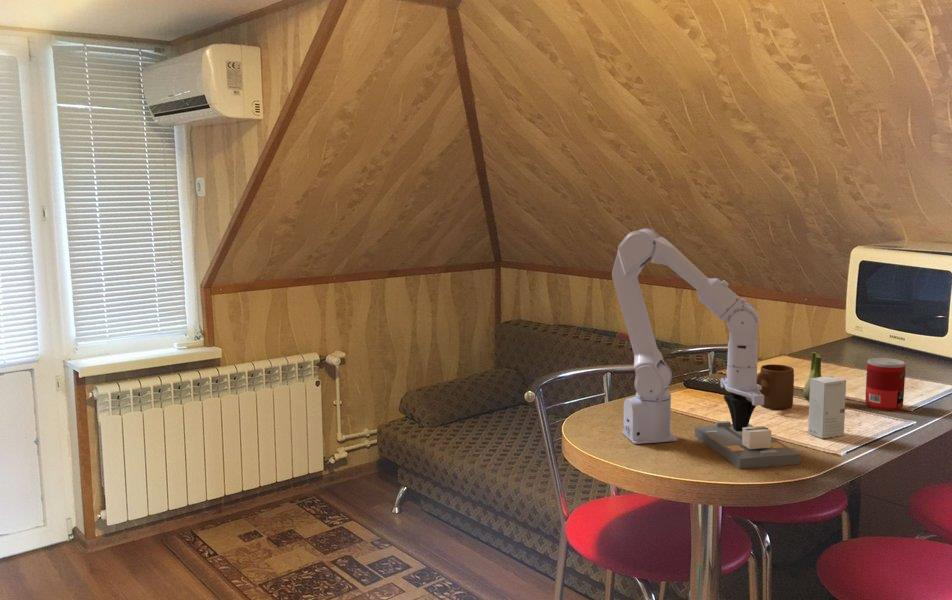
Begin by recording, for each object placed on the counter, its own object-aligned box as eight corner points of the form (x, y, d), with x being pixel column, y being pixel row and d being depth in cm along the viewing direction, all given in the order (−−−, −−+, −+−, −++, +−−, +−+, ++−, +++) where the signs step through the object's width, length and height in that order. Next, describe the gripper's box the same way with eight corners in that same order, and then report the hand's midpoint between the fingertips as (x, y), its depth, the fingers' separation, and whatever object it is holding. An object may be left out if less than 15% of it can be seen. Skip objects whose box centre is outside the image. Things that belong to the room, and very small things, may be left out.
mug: (768, 416, 181) (769, 375, 179) (740, 408, 187) (741, 369, 185) (799, 406, 187) (801, 368, 186) (771, 400, 194) (772, 362, 192)
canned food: (905, 412, 181) (908, 365, 180) (867, 409, 184) (869, 363, 182) (899, 403, 188) (902, 358, 187) (862, 401, 191) (865, 356, 189)
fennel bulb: (820, 405, 188) (822, 356, 186) (799, 402, 191) (801, 353, 189) (827, 400, 193) (829, 351, 191) (806, 396, 196) (808, 349, 194)
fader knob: (749, 449, 152) (750, 431, 151) (742, 444, 155) (742, 427, 154) (770, 447, 153) (771, 430, 152) (762, 442, 155) (763, 425, 155)
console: (739, 468, 148) (740, 454, 148) (694, 435, 168) (695, 423, 167) (799, 464, 150) (799, 450, 149) (747, 432, 169) (748, 419, 169)
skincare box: (822, 439, 163) (825, 382, 162) (806, 433, 168) (808, 378, 166) (845, 435, 166) (848, 379, 164) (828, 429, 170) (831, 375, 168)
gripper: (779, 372, 151) (777, 440, 153) (743, 356, 166) (741, 418, 168) (745, 374, 150) (743, 442, 152) (711, 358, 165) (710, 420, 167)
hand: (740, 430), depth 160 cm, fingers closed
